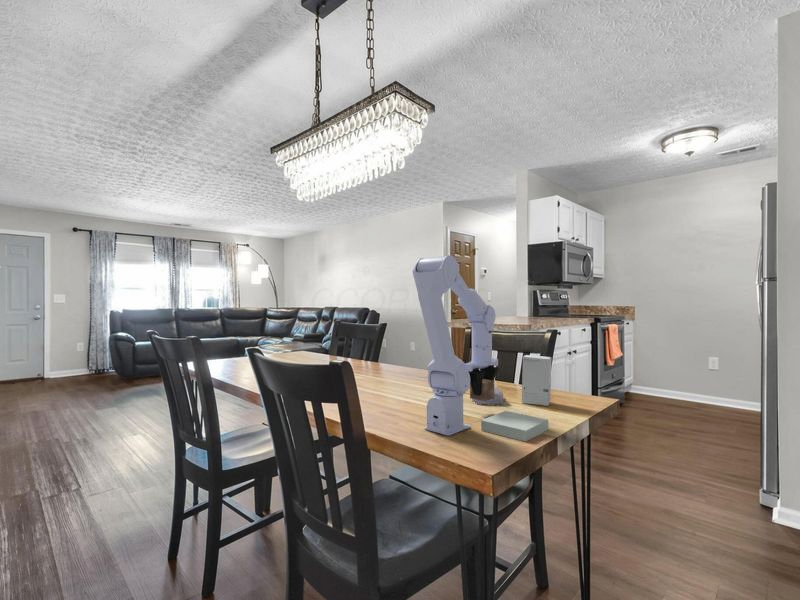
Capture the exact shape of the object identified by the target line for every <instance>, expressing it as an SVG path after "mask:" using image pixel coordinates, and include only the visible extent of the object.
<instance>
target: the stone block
mask: <svg viewBox="0 0 800 600" xmlns="http://www.w3.org/2000/svg"><path fill="white" fill-rule="evenodd" d="M494 397H495V398H493V399H490V400H487V401H481V400H476V399H471V400H472V403H474V402H475V403H474V404H476V403H477V404H476V405H478V404H503V405H504V393H503V391H502V390H500V389H499V387H494Z"/></svg>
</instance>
